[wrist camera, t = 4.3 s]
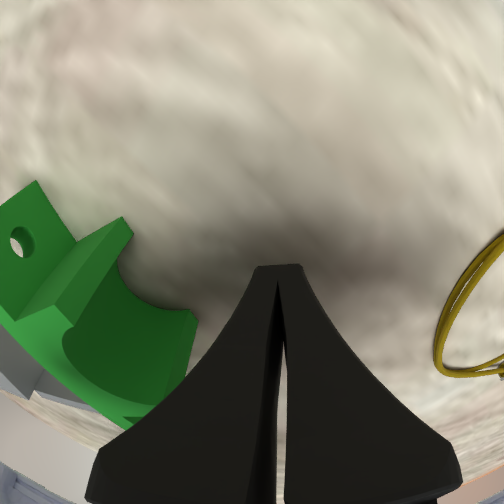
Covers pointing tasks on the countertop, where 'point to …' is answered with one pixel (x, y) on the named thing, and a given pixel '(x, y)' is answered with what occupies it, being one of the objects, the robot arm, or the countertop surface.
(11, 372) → the pegged forked bracket
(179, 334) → the pipe clamp
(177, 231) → the countertop surface
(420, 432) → the robot arm
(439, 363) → the extension cord
